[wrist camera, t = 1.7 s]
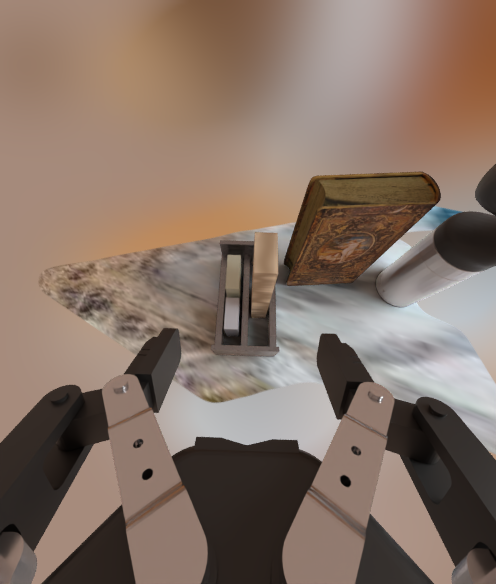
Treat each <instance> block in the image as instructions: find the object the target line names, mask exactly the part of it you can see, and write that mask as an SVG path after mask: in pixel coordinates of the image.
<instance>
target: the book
mask: <svg viewBox="0 0 496 584" xmlns="http://www.w3.org/2000/svg"><path fill="white" fill-rule="evenodd" d="M440 198H441V194H440V189H439V187H438V185H437V183H436V182H435V180H434V179H433V178H432V177H431V176H429V175H428V174H426V173H424V172H402V173H401V172H400V173H377V174H352V175H351V174H350V175H325V176H315V177H313V178H312V179H311V180H310V182H309V185H308V188H307V191H306V194H305V197H304V200H303V203H302V206H301V209H300V213H299V215H298V219H297V222H296V225H295V228H294V231H293V234H292V237H291V240H290V243H289V246H288V250H287V253H286V256H285V259H284V265H286V266H287V267H288V268H289V269H290V274H289V277H288V279H287V285H288V286H298V285H319V284H338V283H352V282H353V281H355V280H356V279H357V278H358V277H359V276H360V275H361V274H362V273H363V272H364V271H365V270H366V269H367V268H368V267H370V266H371V265H372V264H373V263H374V262H375V261H376V260H377V259H378V258H379V257H380V256H381V255H382V254H383V253H385V252H386V251H387V250H388V249H389V248H390V247H391V246H392V245H393V244H394V243H395V242H396V241H397V240H399V239H400V238H401V237H402V236H403V235H404V234H405V233H406V232H407V231H408V230H409V229H410V228H411V227H412V226H414V225H415V224H416V223H417V222H418V221H419V220H420V219H421V218H422V217H423V216H424V215H425V214H426V213H427V212H429V211H430V210H431V209H432V208H433V207H434V206H435V205H436V204H437V203H438V202H439V201H440Z"/></svg>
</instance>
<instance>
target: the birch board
mask: <svg viewBox="0 0 496 584" xmlns="http://www.w3.org/2000/svg"><path fill="white" fill-rule="evenodd" d="M277 276H278V236H277V233H260V232H255V241H254V259H253V276H252V297H251V318H265V317H266V313H267V310H268V307H269V303H270V300H271V296H272V293H273V290H274V286H275V283H276V279H277Z"/></svg>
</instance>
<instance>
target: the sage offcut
mask: <svg viewBox="0 0 496 584" xmlns="http://www.w3.org/2000/svg"><path fill="white" fill-rule="evenodd" d="M241 277H242V274H241V255H228V258H227V272H226V287H225V289H226V294H227V298H239V301H240V300H241Z"/></svg>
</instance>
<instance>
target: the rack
mask: <svg viewBox="0 0 496 584" xmlns="http://www.w3.org/2000/svg"><path fill="white" fill-rule="evenodd" d="M220 246H221V252H222V260H221V273H220V285H219V298H218V310H217V323H216V335H215V345H211V350H212V351H213V352H214V353H215V354H217V355H244V356H275V355H276V354H277V353H278V352H279V347H276V298H275V286H274V290H273V293H272V296H271V300H270V303H269V307H268V347H267V346H247V340H248V306H249V273H250V264H253V259H254V241H220ZM228 255H241V263H244V280H243V305H242V331H241V346H235V345H223V342H224V319H225V304H226V297H227V294H226V289H225V287H226V272H227V258H228Z"/></svg>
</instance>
